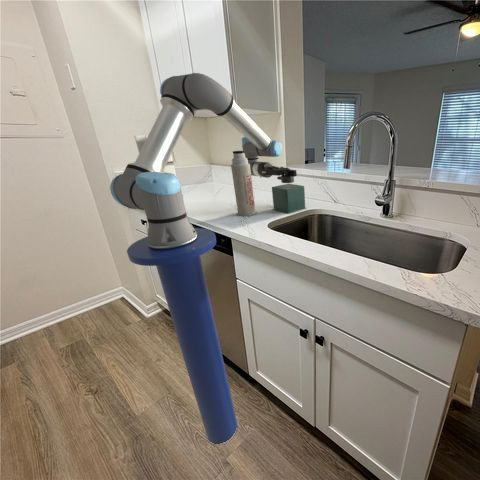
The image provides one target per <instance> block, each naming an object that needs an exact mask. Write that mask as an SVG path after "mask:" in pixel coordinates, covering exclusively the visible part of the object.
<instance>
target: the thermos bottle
mask: <svg viewBox="0 0 480 480" xmlns="http://www.w3.org/2000/svg"><path fill="white" fill-rule="evenodd" d="M244 153H245V152H244V151H243V150H233V151H232V156H233V158H232V159H231V163H232V164H230V168H231V173H232V174H231V176H232V182H233V189H234V194H235V202H236V209H237V215H238V216H241V217H246V216H247V217H248V216H253V215H255V214H256V205H255V204H256V203H255V196H254V187H253V179H252V175H251V170H250V164H248V159H247V158H245V154H244Z"/></svg>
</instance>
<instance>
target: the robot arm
mask: <svg viewBox="0 0 480 480" xmlns="http://www.w3.org/2000/svg"><path fill="white" fill-rule="evenodd" d="M159 87H160V88H159V94H160V100H159V101H160V104H161V109H160V111H159V113H158V115H157V117H156V119H155V121H154V123H153V125H152V128H151V129H150V131H149V133H148V134H147V135H148V137H147V139H146V141H145V143H144V145H143V147H142V149H141V151H140V153H139V152H138V155H137V158H136V159H135V161H134V162H129V163H127V164H126V166H125V168H124V171H123V173H120V174H118V175H115V177H114V178H113V179H112V180H111V183H110V187H109V189H110V190H109V191H110V194H111V196H112V198H113V199H114V200H115V201H116V202H117V203H118V204H119V205H121V206H123V207H125V208H129V209H130V210H140V211H144V213H145V216H146V220H147V224H148V227H147V236H148V238H147V243H148V246H149V248H150V249H153V250H171V249H177V248H181V247H184V246H187V245H189V244H191V243H193V242H195V241H196V240H197V238H198V237H197V233H196V231H195V229H194V228H195V227H194V226H193V224H192V222H191V221H190V220H189V217H188V215H187V210H186V205H185V201H184V196H183V191H182V185H181V183H180V181H179V178H178V176H177V174H176V175H174V174H172V173H168V172H163V171H164V168H165V166H166V164H167V162H168V160H169V158H170V156H171V154H173V151H174V149H175V147H176V145H177V143H178V141H179V138H180V136H181V134H182V132H183V130H184V128H185V125H187V122H191V121H192V120H193V119H194V118H195V115H196V113H197V111H199V110H208V111H210V112H212V113H214V114H215V115H216V116H217V117H222V118H224V119H225V121H226V122H228V123H229V124H230V125H231V126H232V127H233V128H235V130H237V131H238V132H239V133H240V134H241V135H243V137H242V138H241V149H242V151H244V152H245V153H244V154H245V158H247V159H248V164H250V170H251V177H259V178H265V179H266V178H267V179H270V178H271V177H272V176H277V177H279V176H284V175H286V176H293V177H294V178H295V177H297V176H298V175H297V169H291V168H289V167H284V166H275V165H273V164H272V163H271V162H270V161H269V162H268V161H260V160H259V159H260V157H266V158H276V157H280V156H281V155H282V152H283V146H282V143H281V142H280V141H279V140H275V139H274V140H273V139H271V138H270V137H269V135H267V134H266V132H264V130H262V128H261V127H259V125H258V124H257V123H256V122H255V121H254V120H253V119H252V118H251V117H250V116H249V115H248V114H247V113H246V112H245V111H244V110H243V109H242V108H241V106H239V104H238V103H236V101H235V97H234V95H232V94H231V93H230V92H229V90H227V89H226V87H224V86H223V85H222V84H221V83H219V82H218V81H216V80H215V79H213V78H212V77H210V76H208V75H206V74H204V73H200V72H192V73H187V74H181V75H172V76H170V77H168V78H165V79H164V80H163V81H162V83H161V85H160V86H159Z"/></svg>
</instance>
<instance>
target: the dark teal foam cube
mask: <svg viewBox="0 0 480 480" xmlns="http://www.w3.org/2000/svg"><path fill="white" fill-rule="evenodd" d="M305 191H306V190H305V185H300V184H294V183H283V184H280V185H275V186H271V194H272V205H273V210H275V211H279V212H282V213H286V214H291V213H294V212H297V211H301V210H304V209H306V196H305V193H306V192H305Z"/></svg>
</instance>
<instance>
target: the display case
mask: <svg viewBox="0 0 480 480" xmlns="http://www.w3.org/2000/svg"><path fill="white" fill-rule="evenodd" d="M148 135H149V134H146V135H134V140H135V143H136V147H137V152H138V154H139V153H140V151H141V149H142V147H143V145H144V143H145V141H146V139H147V137H148ZM172 154H173V153H171V156H170V158H169V160H168V162H167V164H166V166H165V168H164V171H163V172H168V173H172V174H174V175H176V176H177V172H176V168H175V163H174V159H173V155H172Z"/></svg>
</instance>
